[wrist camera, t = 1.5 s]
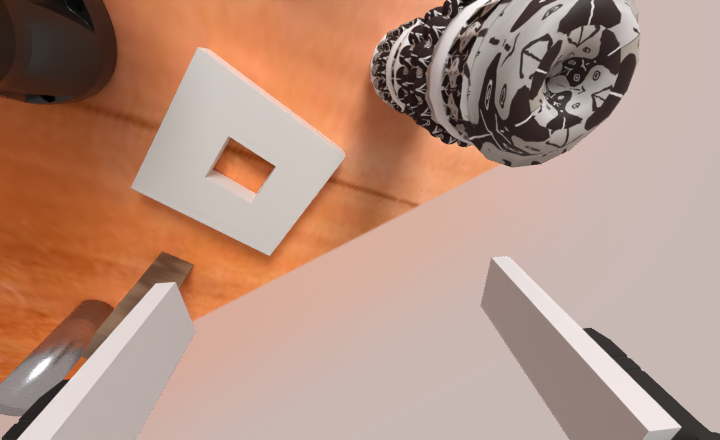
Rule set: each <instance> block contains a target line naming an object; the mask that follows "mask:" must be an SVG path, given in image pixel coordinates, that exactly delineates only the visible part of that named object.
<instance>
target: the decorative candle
mask: <svg viewBox="0 0 720 440" xmlns="http://www.w3.org/2000/svg"><path fill="white" fill-rule="evenodd" d="M639 41H640V29H639V27H638V10H637V8H636V5H635V3H634V0H446V1H445V2H444V5H443V7H436V8H434V9H432V10H430V11H428V12H427V13H426V15H425V17H424V18H423V19H422V18H416V19H415V20H412V21H410V22H406V23H404V24H402V25H400V27H398V28H396V29H393V30H392V31H389V32H388V33H387V34H386V35H385V36H384V37H383V38H382V40H381V41H380V42H379V44H378V45H377V46H376V48H375V50H374V53H373V56H372V59H371V63H370V76H371V82H372V85H373V87H374V89H375V92H376V94H377V95H378V96H379V97H380V98H381V99H382V100H383V101H384V102H385V103H386V104H388V106H390V107H391V108H393V109H395V110H397V111H399V112H400V113H406V114H407V115H408V116H410V117H412V118H413V119H414V120H415V121H416V123H417V124H418V125H420V126H422V127H424V128H425V129H427V130H428V131H429V132H430V134H431V135H432V136H433V137H440V139H441V141H442V142H444V143H446V144H453V143H455V142H457V143H458V145H459V146H461V147H467V146H470V145H474V146H476V147H477V148H478V150H479V151H480V152H481V153H482V154H483V155H484V156H485V157H486V158H487V159H489V160H492V161H495V162H498V163H501V164H504V165H507V166H510V167H520V166H528V165H537V164H542V163H544V162H546V161H548V160H550V159H552V158H554V157H556V156H558V155H560V154H563V153H564V152H567V151H569V150H571V149H572V148H573V147H574V146H575V145H576V144H577V143H579V142H580V141H581V140H582V139H583V138H585V137H586V136H587V135H588V134H590V133H591V132H592V131H593V130H594V129H595V128H596V127H597V126H599V125H600V124H601V123H602V122H603V121H604V120H605V119H607V118H608V117H609V115H610V114H611V113H612V111H613V110H614V108H615V107H616V106H617V104H618V103H619V101H620V100H621V98H622V97H623V95H624V94H625V93H626V91H627V89H628V87H629V84H630V81H631V79H632V76H633V74H634V71H635V68H636V66H637V63H638V60H639V59H638V58H639Z"/></svg>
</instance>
